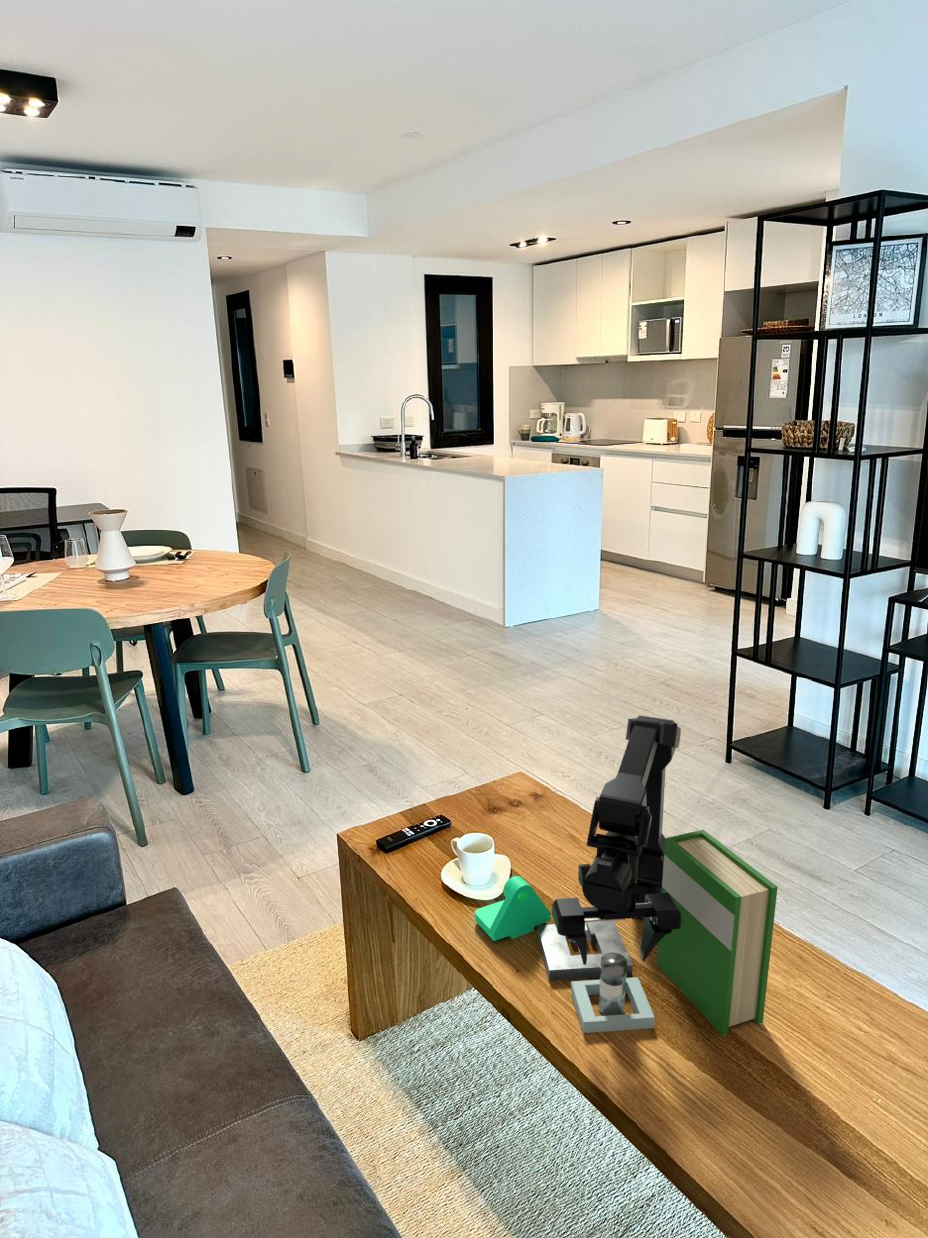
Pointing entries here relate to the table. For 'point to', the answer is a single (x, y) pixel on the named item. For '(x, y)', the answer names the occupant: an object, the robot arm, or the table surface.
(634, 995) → the square frame
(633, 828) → the robot arm
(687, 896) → the hardback book
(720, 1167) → the table surface
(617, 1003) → the chrome metal cylinder
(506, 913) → the camera mount
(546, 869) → the table surface
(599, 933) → the socket block
